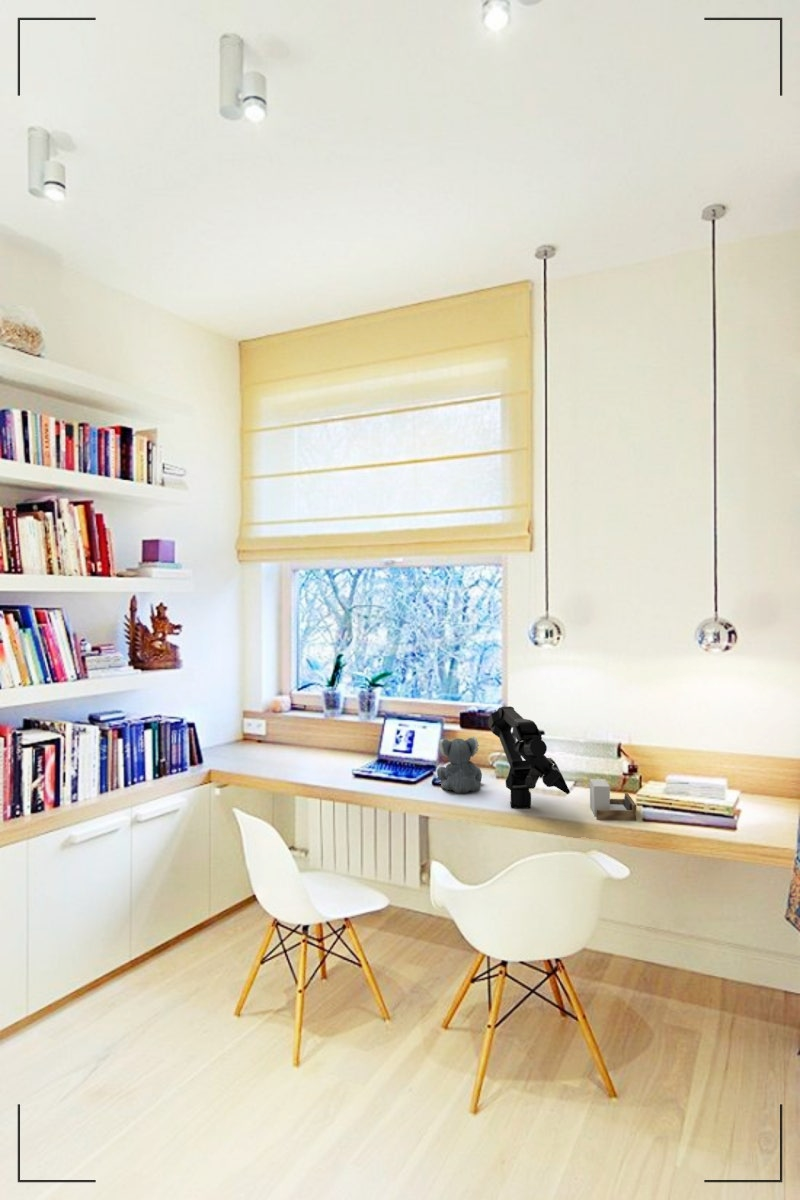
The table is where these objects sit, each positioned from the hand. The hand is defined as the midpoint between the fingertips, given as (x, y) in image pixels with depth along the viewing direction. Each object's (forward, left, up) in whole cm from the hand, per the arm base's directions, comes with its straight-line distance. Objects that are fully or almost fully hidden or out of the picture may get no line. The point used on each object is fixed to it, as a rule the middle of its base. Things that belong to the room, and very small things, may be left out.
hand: (567, 789), depth 254 cm
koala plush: (-36, +29, -8) cm, 47 cm away
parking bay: (+15, 0, -8) cm, 17 cm away
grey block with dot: (+14, +1, -8) cm, 16 cm away
